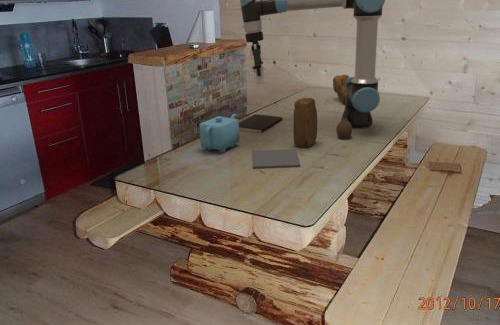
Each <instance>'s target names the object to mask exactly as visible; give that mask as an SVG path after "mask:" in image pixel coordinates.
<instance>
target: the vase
mask: <svg viewBox="0 0 500 325" xmlns="http://www.w3.org/2000/svg"><path fill="white" fill-rule="evenodd" d="M341 118H342V117H341ZM352 134H353V128H352V126H351V124H350V122H349V121H348V119H347V118H342V120H341V119H340V121H339V122H338V124H337V125H336V135H337V136H338V138H339V139H341V140H346V139H349V138H350V137H351V136H352Z"/></svg>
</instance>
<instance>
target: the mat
mask: <svg viewBox="0 0 500 325" xmlns="http://www.w3.org/2000/svg"><path fill="white" fill-rule="evenodd" d="M252 166H253V167H252V169H254V170H255V169H277V168H278V169H279V168H280V169H281V168H283V169H284V168H300V167H301V163H300V158H299V155H298V151H297V149H296V148H289V149H287V148H285V149H284V148H282V149H263V150H262V149H257V150H252Z"/></svg>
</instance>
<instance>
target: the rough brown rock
mask: <svg viewBox="0 0 500 325" xmlns="http://www.w3.org/2000/svg"><path fill="white" fill-rule="evenodd" d="M349 77H350V76H349V75H348V74H341V75H335V76H334V77H333V79H332V87H333V91H334V92H335V93H336V94H337V97H338V99H339V101H341V105H345V97H346V80H347V78H349Z"/></svg>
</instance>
